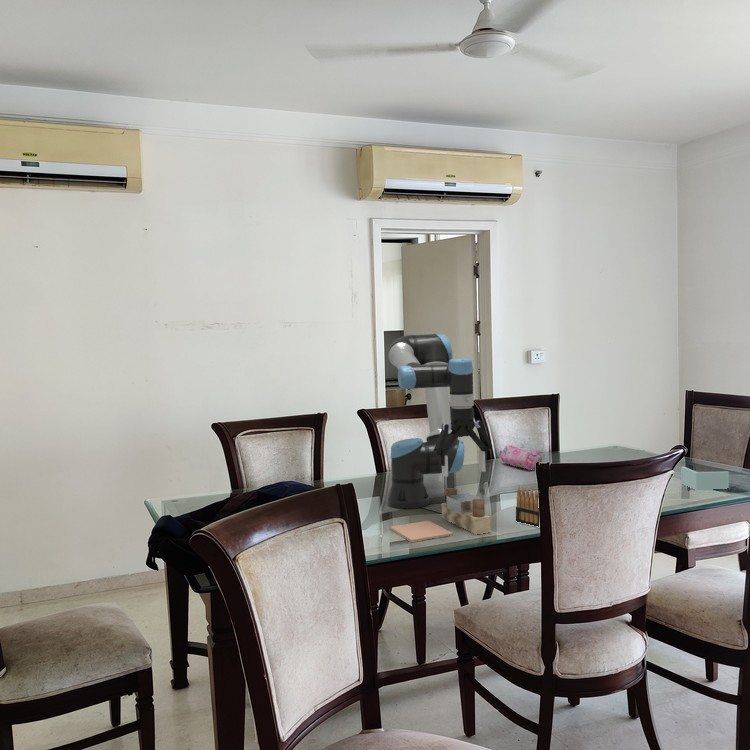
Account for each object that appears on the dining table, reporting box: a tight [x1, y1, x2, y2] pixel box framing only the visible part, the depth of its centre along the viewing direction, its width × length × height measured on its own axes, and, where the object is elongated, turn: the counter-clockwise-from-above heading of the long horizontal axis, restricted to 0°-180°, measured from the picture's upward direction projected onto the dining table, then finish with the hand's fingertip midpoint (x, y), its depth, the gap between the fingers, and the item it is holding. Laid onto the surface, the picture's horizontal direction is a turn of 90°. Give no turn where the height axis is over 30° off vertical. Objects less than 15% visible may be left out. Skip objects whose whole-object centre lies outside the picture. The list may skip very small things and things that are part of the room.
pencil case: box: [499, 445, 543, 471], centre depth 308 cm, size 21×9×9 cm, turn 22°
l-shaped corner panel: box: [680, 466, 730, 490], centre depth 256 cm, size 12×12×8 cm
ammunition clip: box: [515, 485, 539, 527], centre depth 218 cm, size 11×2×12 cm, turn 38°
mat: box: [389, 520, 454, 543], centre depth 214 cm, size 16×14×1 cm
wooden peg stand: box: [441, 487, 491, 536], centre depth 220 cm, size 22×5×10 cm, turn 23°
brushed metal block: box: [447, 492, 483, 515], centre depth 220 cm, size 9×8×4 cm
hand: (463, 473), depth 219 cm, fingers open, 13 cm apart
